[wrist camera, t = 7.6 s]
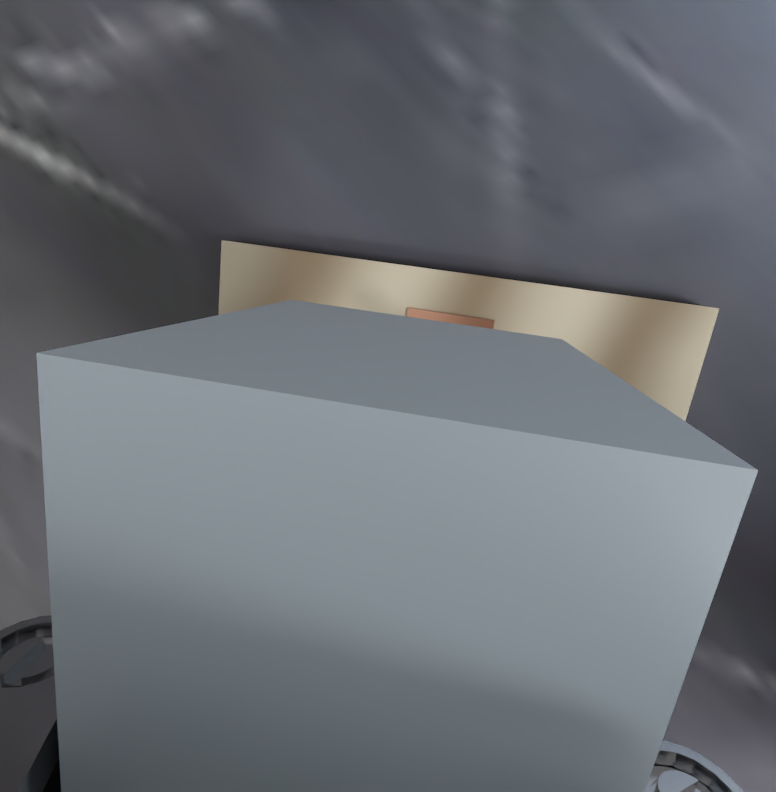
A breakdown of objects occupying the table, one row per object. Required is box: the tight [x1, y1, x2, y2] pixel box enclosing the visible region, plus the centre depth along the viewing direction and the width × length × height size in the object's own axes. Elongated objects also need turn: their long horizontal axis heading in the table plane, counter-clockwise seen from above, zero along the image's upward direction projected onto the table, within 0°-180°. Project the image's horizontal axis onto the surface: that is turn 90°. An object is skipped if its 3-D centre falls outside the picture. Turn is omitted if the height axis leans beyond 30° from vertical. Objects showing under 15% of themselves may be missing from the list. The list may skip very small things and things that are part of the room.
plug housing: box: [36, 300, 758, 792], centre depth 8 cm, size 5×10×6 cm, turn 172°
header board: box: [218, 240, 719, 421], centre depth 18 cm, size 18×12×5 cm, turn 83°
